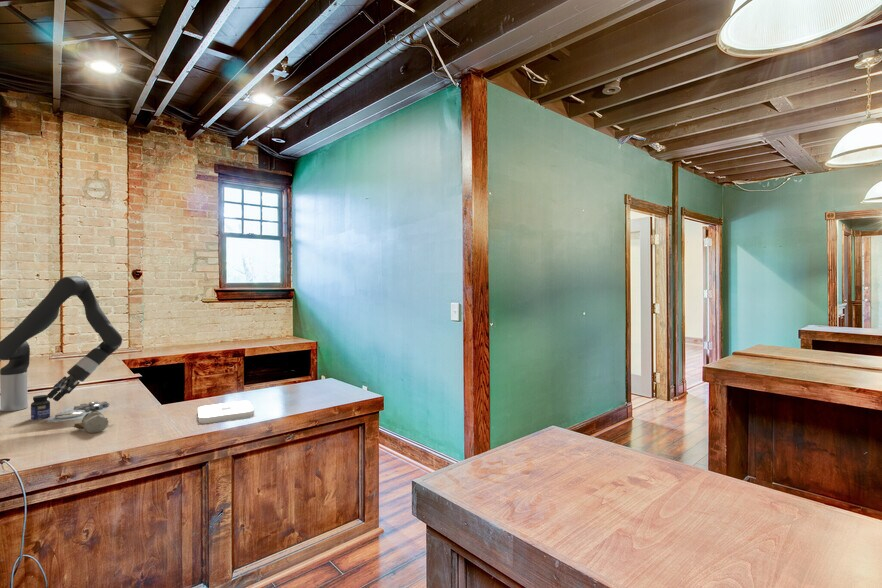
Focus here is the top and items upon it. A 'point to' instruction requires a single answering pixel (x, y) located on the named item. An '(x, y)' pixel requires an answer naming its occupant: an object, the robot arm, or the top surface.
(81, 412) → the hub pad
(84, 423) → the ceramic sculpture
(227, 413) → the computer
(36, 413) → the pill bottle
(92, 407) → the gear
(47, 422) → the gear board
